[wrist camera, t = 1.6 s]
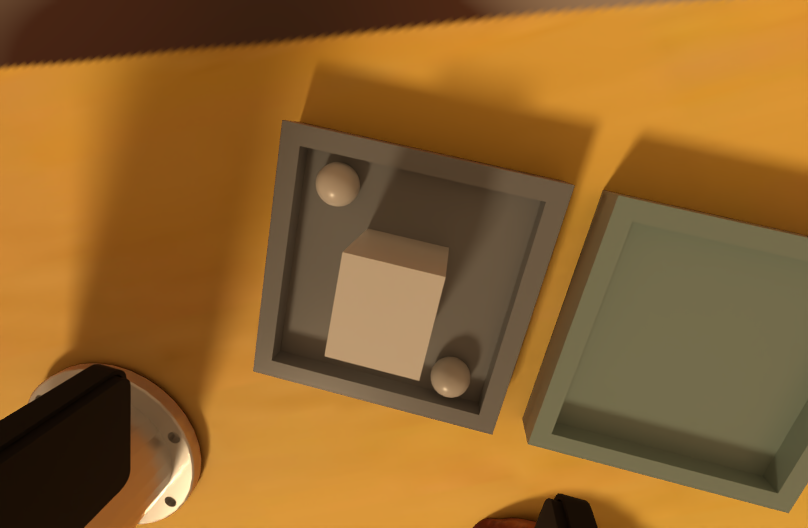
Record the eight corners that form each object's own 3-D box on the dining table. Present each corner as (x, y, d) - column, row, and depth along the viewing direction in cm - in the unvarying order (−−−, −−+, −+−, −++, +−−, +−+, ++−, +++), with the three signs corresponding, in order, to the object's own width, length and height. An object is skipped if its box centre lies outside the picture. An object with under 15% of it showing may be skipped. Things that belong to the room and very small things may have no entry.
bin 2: (760, 481, 25) (788, 513, 22) (522, 419, 25) (527, 444, 23) (893, 255, 20) (943, 268, 18) (603, 189, 21) (618, 195, 19)
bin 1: (489, 410, 26) (492, 440, 23) (269, 353, 26) (249, 375, 24) (563, 181, 21) (577, 186, 19) (299, 122, 22) (278, 119, 20)
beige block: (427, 332, 24) (419, 380, 19) (351, 313, 24) (324, 356, 19) (449, 247, 22) (445, 277, 17) (367, 228, 22) (342, 251, 18)
